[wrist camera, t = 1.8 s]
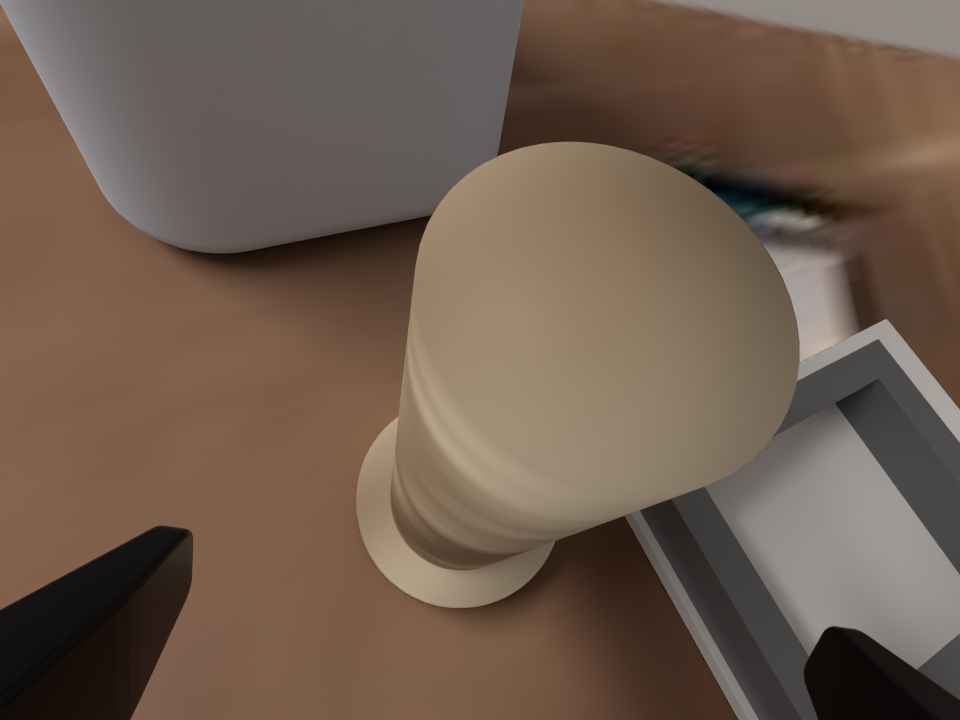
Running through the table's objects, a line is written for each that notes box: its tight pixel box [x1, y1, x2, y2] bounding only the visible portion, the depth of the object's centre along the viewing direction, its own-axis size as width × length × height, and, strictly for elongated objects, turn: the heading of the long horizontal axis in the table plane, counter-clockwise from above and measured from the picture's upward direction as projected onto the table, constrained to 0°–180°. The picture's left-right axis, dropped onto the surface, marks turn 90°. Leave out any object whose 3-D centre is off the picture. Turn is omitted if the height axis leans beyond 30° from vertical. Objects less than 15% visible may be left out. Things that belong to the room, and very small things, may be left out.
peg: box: [356, 142, 799, 608], centre depth 12 cm, size 6×6×13 cm
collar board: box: [625, 319, 960, 720], centre depth 18 cm, size 18×15×3 cm
